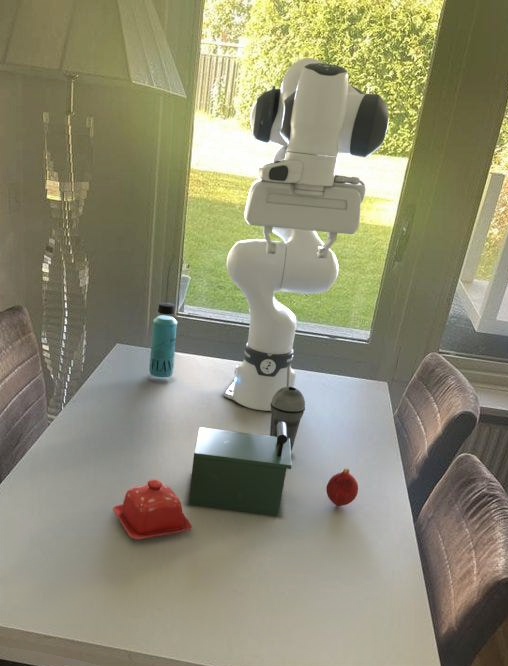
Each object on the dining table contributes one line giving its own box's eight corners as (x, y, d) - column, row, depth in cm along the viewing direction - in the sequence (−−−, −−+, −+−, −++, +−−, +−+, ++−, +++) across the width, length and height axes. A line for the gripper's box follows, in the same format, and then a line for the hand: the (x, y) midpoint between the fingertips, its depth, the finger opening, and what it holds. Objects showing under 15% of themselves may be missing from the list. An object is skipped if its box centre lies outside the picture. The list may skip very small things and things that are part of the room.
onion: (356, 515, 130) (365, 477, 127) (326, 512, 130) (334, 475, 126) (350, 499, 136) (358, 463, 132) (320, 497, 135) (328, 460, 132)
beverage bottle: (146, 381, 182) (151, 305, 173) (151, 372, 188) (156, 299, 179) (170, 384, 182) (176, 308, 172) (174, 376, 188) (181, 302, 178)
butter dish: (109, 511, 124) (111, 469, 120) (169, 503, 128) (173, 462, 124) (131, 546, 115) (134, 502, 111) (194, 536, 119) (199, 493, 115)
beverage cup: (295, 465, 147) (311, 375, 137) (260, 459, 147) (275, 370, 138) (296, 451, 153) (313, 364, 143) (264, 445, 154) (278, 359, 144)
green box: (277, 486, 138) (284, 441, 133) (278, 516, 128) (286, 469, 123) (194, 475, 139) (199, 430, 134) (188, 504, 128) (193, 457, 124)
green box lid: (289, 442, 133) (293, 417, 131) (291, 469, 123) (296, 443, 120) (199, 430, 134) (201, 405, 131) (193, 457, 124) (196, 430, 121)
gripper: (362, 176, 123) (347, 257, 129) (249, 165, 121) (238, 247, 128) (373, 179, 118) (356, 263, 124) (254, 168, 116) (243, 253, 122)
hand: (295, 255), depth 126 cm, fingers open, 8 cm apart
